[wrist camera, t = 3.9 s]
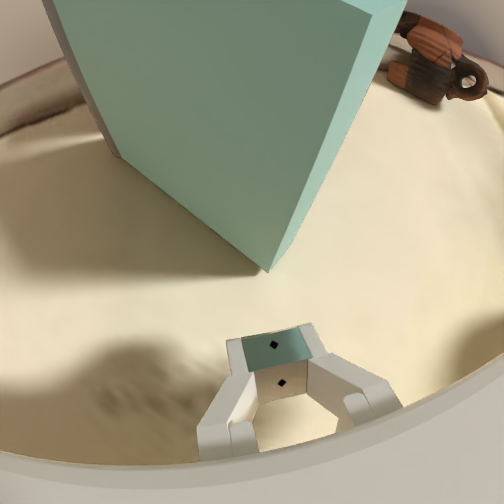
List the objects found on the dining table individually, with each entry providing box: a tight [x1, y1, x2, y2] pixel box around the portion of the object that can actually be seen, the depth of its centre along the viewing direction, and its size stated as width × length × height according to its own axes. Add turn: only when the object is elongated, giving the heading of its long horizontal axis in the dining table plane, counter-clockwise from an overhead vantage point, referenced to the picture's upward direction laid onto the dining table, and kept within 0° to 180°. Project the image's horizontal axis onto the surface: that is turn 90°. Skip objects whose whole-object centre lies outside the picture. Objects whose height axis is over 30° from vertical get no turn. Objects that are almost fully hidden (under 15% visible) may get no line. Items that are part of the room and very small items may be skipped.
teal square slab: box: [42, 0, 408, 273], centre depth 11 cm, size 14×2×14 cm, turn 51°
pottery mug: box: [387, 11, 489, 105], centre depth 21 cm, size 12×10×8 cm
